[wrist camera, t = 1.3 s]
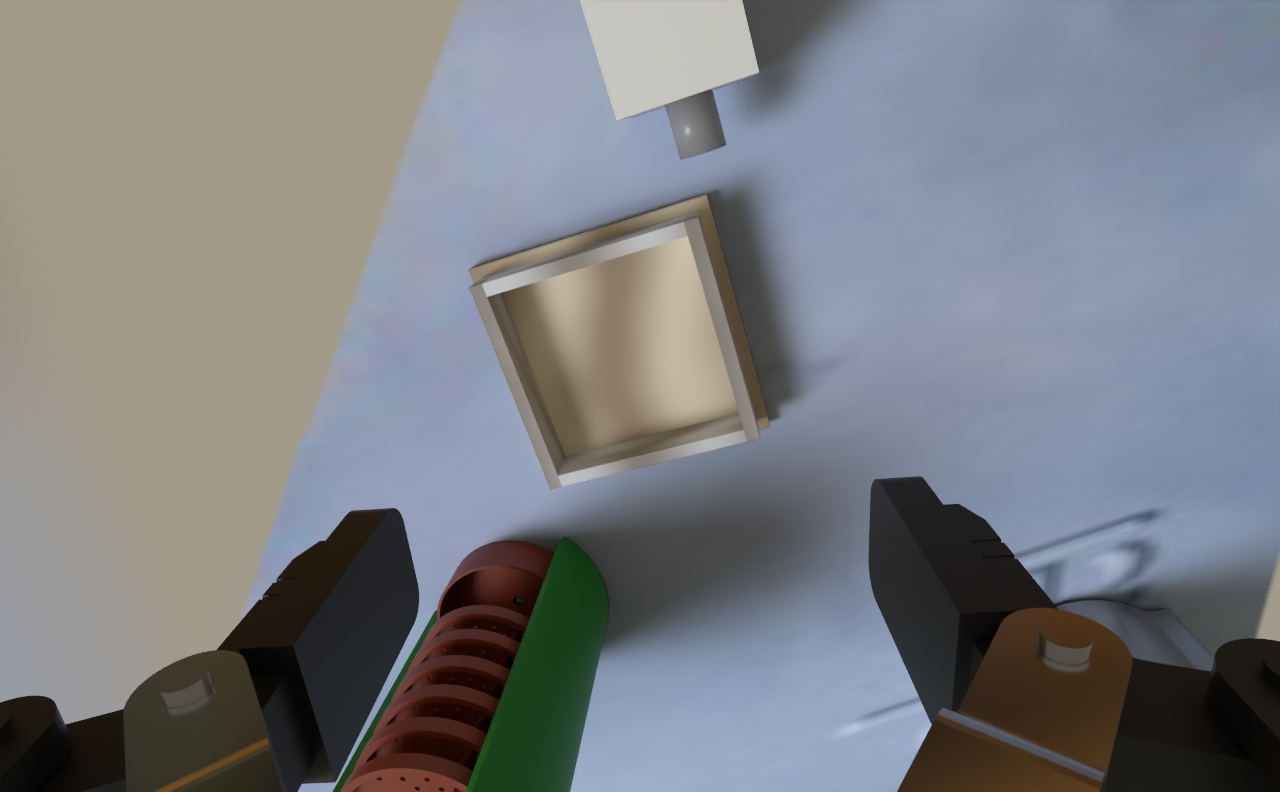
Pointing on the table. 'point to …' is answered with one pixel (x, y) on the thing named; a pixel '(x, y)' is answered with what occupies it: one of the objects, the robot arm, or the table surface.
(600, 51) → the cream cube on peg
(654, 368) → the mount pocket
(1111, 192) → the table surface
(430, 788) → the green cutaway cylinder
